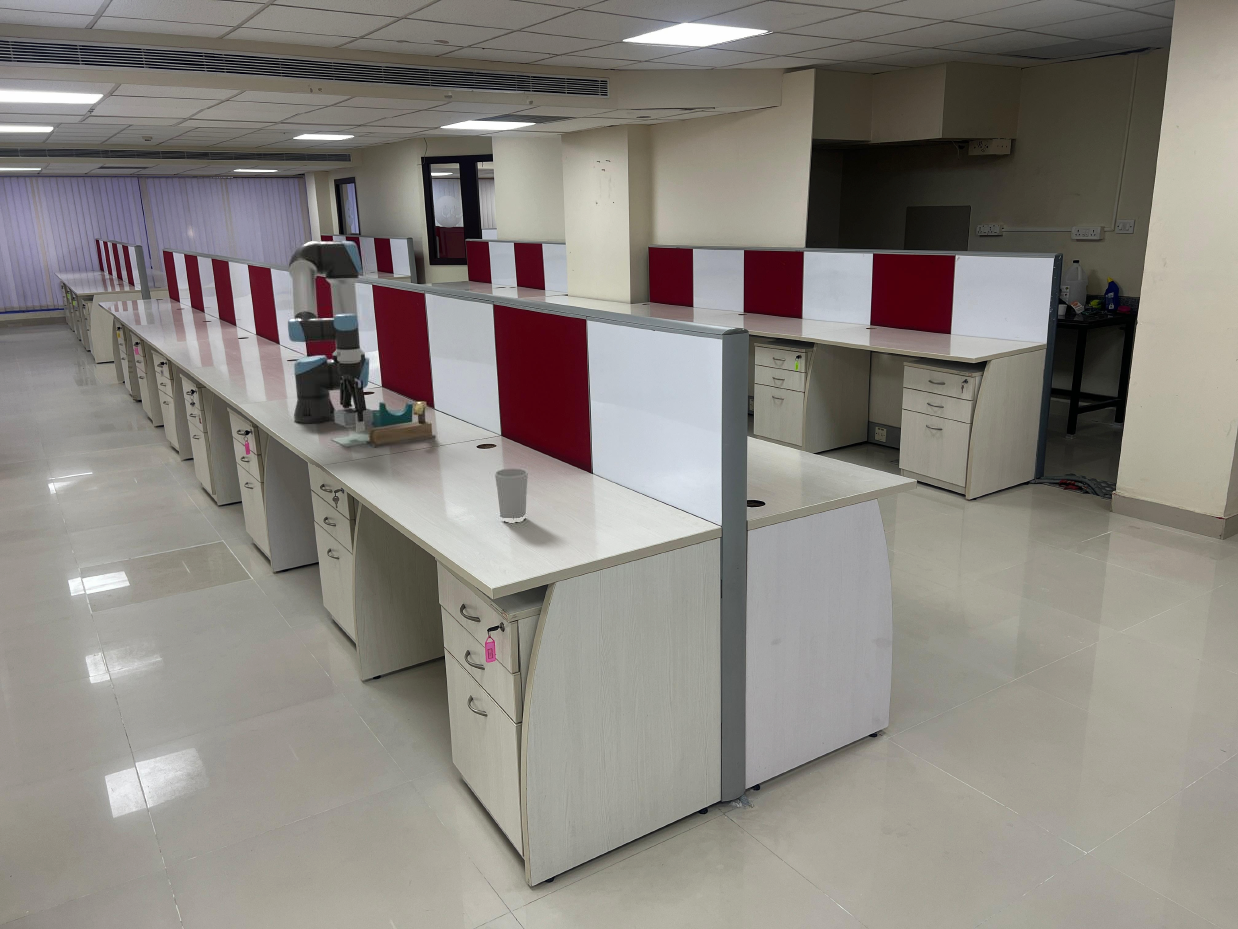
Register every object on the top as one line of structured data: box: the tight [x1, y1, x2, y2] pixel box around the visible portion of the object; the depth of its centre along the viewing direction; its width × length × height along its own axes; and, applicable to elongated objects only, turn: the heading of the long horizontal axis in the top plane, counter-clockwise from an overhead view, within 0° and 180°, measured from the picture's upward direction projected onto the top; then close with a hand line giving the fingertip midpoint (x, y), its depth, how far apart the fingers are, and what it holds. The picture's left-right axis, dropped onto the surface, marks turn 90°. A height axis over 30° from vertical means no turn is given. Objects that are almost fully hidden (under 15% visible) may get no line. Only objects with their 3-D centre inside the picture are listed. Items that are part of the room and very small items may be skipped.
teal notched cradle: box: [371, 401, 414, 428], centre depth 316 cm, size 18×11×10 cm, turn 25°
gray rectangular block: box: [334, 407, 374, 427], centre depth 296 cm, size 8×10×4 cm
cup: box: [494, 467, 529, 519], centre depth 217 cm, size 8×8×12 cm
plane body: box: [365, 409, 437, 448], centre depth 298 cm, size 7×22×10 cm, turn 130°
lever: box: [413, 401, 427, 416], centre depth 296 cm, size 4×13×2 cm, turn 7°
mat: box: [331, 433, 370, 448], centre depth 299 cm, size 12×12×1 cm
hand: (354, 428), depth 297 cm, fingers closed on gray rectangular block, 8 cm apart
